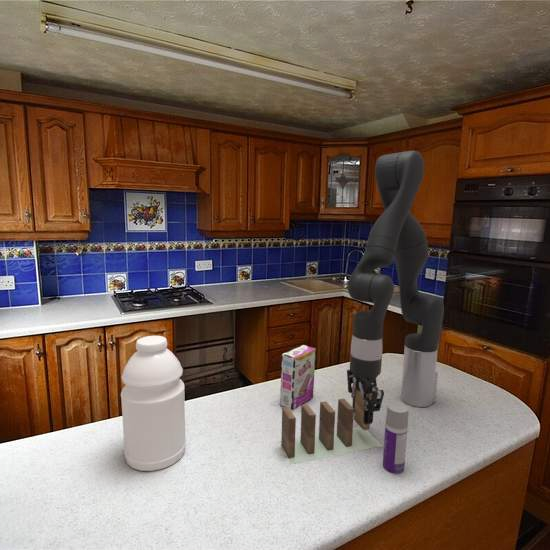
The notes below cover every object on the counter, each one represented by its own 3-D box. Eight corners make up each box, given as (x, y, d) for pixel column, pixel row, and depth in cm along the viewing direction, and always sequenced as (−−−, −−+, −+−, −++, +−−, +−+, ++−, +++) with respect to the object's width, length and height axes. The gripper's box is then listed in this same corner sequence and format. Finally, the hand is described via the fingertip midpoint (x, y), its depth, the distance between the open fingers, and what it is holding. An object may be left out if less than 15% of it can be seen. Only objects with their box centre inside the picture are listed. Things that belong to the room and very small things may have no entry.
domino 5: (359, 418, 97) (361, 382, 96) (369, 429, 92) (372, 391, 91) (353, 419, 97) (355, 383, 95) (363, 430, 92) (366, 392, 90)
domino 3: (324, 437, 95) (326, 401, 93) (333, 449, 90) (335, 411, 88) (318, 438, 94) (320, 402, 93) (327, 450, 90) (329, 412, 88)
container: (378, 464, 86) (382, 403, 83) (394, 459, 87) (399, 400, 85) (391, 477, 81) (396, 414, 79) (408, 473, 83) (413, 410, 81)
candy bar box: (293, 412, 107) (294, 358, 105) (279, 406, 111) (280, 353, 108) (314, 398, 116) (316, 347, 113) (301, 392, 119) (302, 343, 116)
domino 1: (287, 444, 92) (288, 406, 90) (294, 457, 87) (295, 417, 85) (281, 445, 91) (282, 407, 90) (288, 458, 87) (289, 418, 85)
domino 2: (306, 441, 93) (307, 404, 92) (314, 453, 89) (315, 414, 87) (300, 442, 93) (301, 404, 91) (308, 454, 88) (309, 415, 86)
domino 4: (342, 434, 96) (344, 398, 95) (351, 446, 92) (353, 408, 90) (336, 435, 96) (338, 399, 94) (346, 447, 91) (348, 409, 90)
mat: (362, 427, 100) (362, 425, 100) (381, 447, 92) (381, 445, 92) (277, 442, 93) (278, 441, 93) (290, 465, 85) (290, 464, 85)
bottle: (197, 442, 93) (195, 334, 88) (162, 479, 80) (158, 355, 75) (150, 430, 97) (146, 327, 93) (110, 463, 85) (103, 345, 80)
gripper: (397, 363, 86) (391, 431, 89) (364, 342, 99) (360, 402, 102) (368, 366, 84) (363, 436, 86) (338, 344, 97) (335, 405, 100)
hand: (361, 417), depth 94 cm, fingers closed on domino 5, 5 cm apart
